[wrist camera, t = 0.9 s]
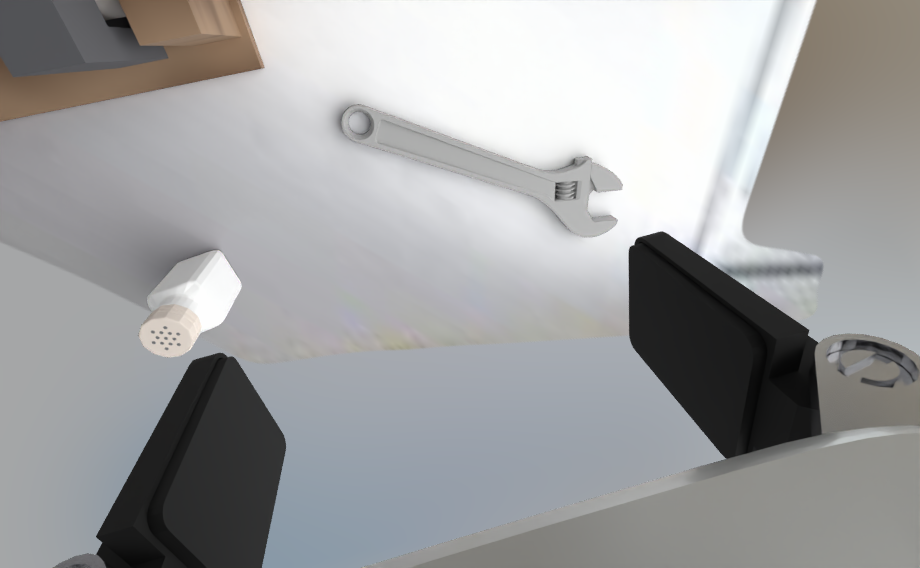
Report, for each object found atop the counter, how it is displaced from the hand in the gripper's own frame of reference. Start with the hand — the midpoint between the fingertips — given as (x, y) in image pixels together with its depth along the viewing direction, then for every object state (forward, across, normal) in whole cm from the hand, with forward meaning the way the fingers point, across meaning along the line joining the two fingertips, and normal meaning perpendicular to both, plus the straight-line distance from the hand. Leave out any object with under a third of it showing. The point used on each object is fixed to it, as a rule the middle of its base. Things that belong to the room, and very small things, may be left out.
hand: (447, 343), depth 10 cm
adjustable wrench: (+28, -8, +5) cm, 30 cm away
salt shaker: (+28, +18, +8) cm, 34 cm away
